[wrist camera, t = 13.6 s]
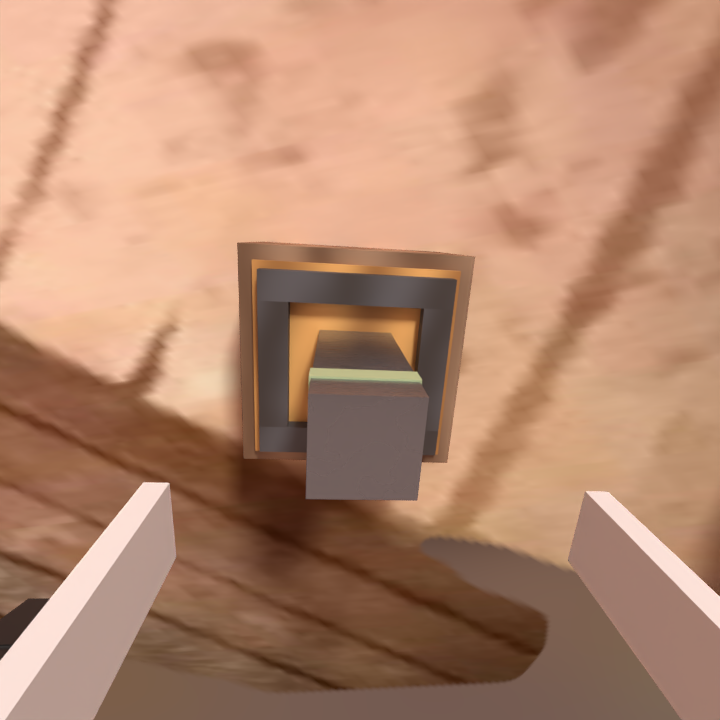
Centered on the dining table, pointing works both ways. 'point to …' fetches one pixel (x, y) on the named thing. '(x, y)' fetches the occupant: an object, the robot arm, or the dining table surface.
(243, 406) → the walnut stand
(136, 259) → the dining table surface
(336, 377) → the steel column
